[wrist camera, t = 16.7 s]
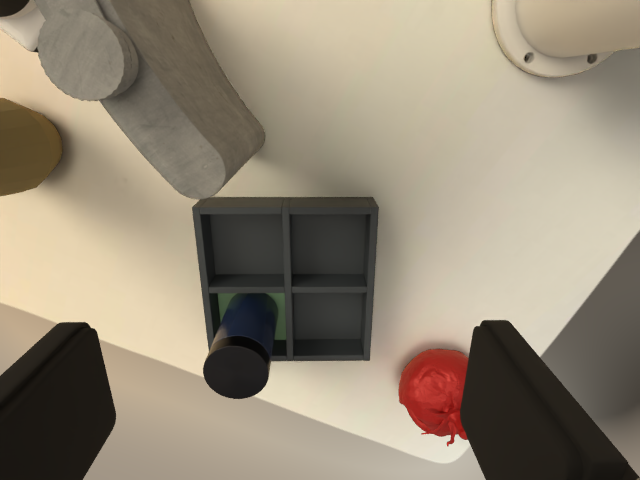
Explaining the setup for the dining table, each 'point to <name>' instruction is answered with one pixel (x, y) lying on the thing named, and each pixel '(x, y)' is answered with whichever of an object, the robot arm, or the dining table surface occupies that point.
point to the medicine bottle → (21, 22)
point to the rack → (293, 269)
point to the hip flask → (152, 85)
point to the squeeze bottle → (25, 148)
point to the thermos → (243, 346)
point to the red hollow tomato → (435, 391)
